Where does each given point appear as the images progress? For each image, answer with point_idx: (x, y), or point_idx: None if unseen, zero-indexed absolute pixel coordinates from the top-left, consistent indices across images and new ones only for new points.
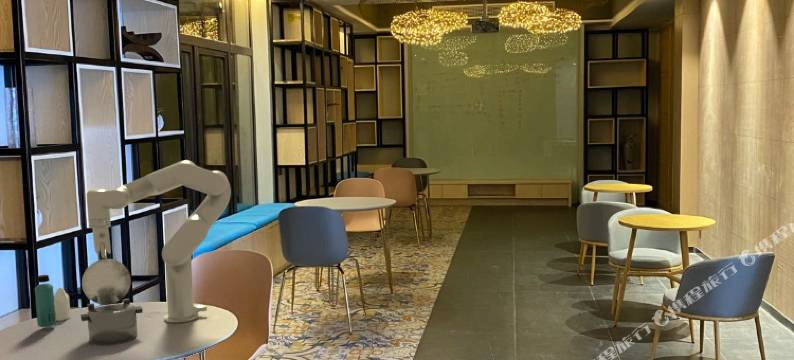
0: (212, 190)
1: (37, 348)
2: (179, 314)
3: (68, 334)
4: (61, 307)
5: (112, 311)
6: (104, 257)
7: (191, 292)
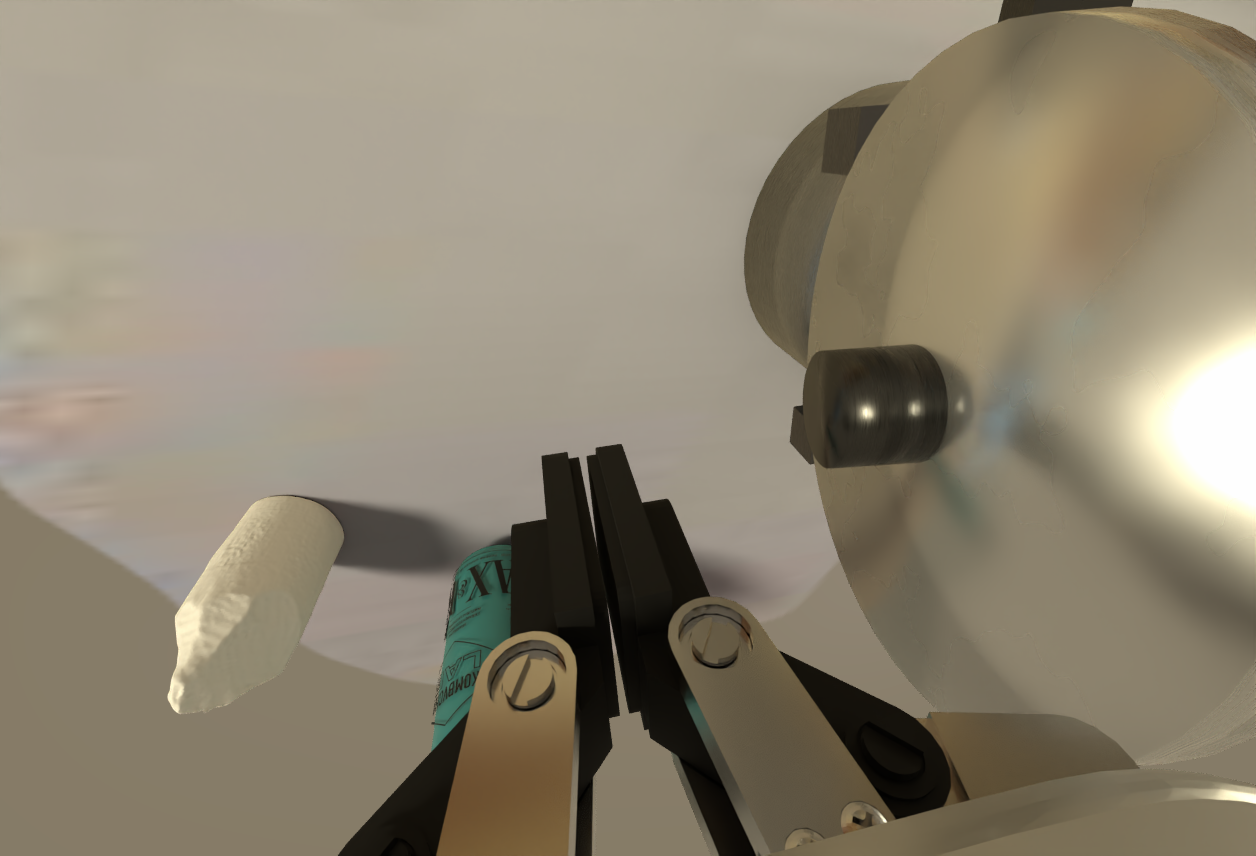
0: None
1: (797, 543)
2: None
3: (658, 463)
4: (314, 581)
5: None
6: (1083, 738)
7: None
